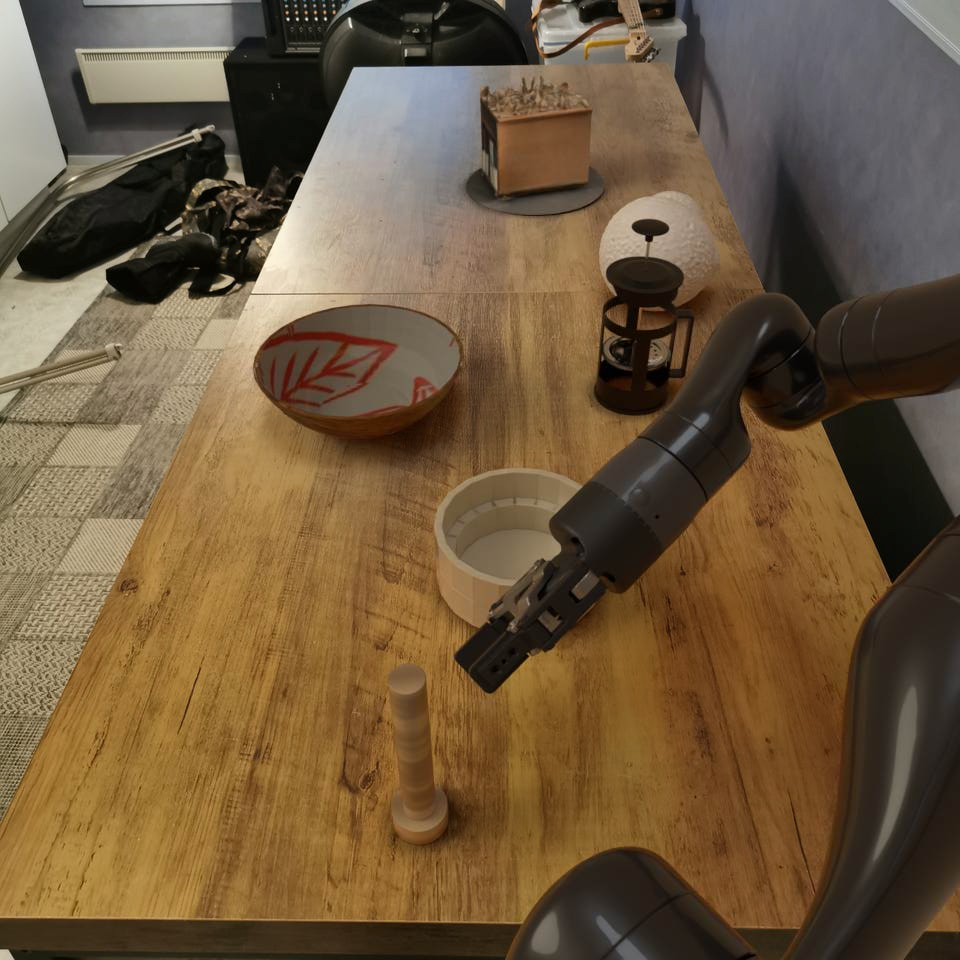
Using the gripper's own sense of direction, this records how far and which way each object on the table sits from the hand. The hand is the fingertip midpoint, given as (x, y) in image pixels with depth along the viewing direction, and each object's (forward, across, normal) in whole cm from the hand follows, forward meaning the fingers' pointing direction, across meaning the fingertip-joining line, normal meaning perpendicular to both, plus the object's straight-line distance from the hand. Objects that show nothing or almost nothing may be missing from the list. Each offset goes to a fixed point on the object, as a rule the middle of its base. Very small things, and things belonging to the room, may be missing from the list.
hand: (469, 675), depth 65 cm
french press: (-39, +48, +1) cm, 62 cm away
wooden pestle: (+11, +10, -7) cm, 16 cm away
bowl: (-13, +51, +23) cm, 57 cm away
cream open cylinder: (-10, +28, -2) cm, 29 cm away
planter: (-69, +96, +36) cm, 123 cm away
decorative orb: (-56, +64, +8) cm, 85 cm away
